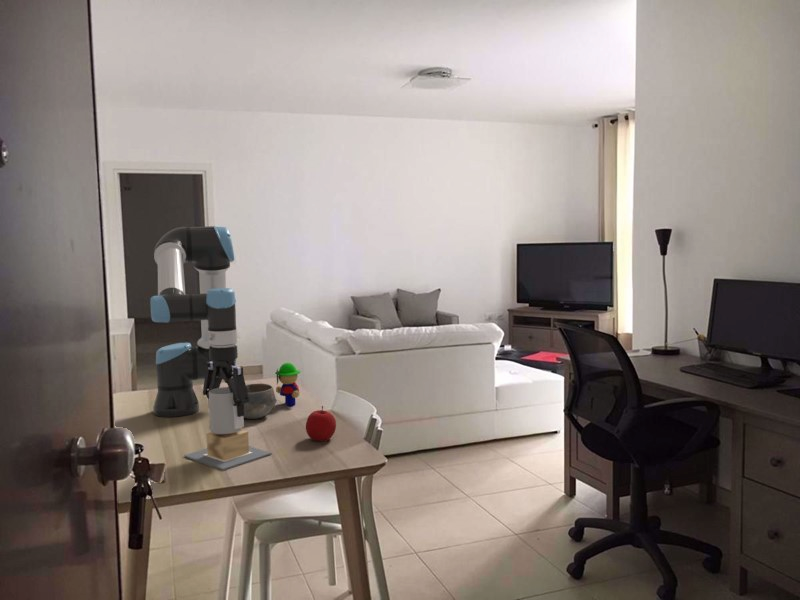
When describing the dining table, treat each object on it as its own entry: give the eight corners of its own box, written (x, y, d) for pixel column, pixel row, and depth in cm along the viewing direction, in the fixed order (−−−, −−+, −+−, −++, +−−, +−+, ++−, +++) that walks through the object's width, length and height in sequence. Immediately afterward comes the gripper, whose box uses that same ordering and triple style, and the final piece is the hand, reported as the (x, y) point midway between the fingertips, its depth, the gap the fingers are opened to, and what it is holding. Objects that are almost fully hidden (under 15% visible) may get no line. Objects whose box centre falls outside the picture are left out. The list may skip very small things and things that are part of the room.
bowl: (260, 408, 242) (259, 380, 241) (286, 416, 231) (285, 387, 230) (224, 417, 232) (223, 387, 231) (249, 425, 221) (248, 395, 220)
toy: (276, 400, 253) (275, 360, 251) (302, 399, 254) (301, 359, 252) (273, 408, 242) (272, 366, 240) (300, 407, 243) (299, 365, 241)
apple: (302, 437, 208) (301, 404, 207) (331, 433, 211) (330, 401, 210) (310, 446, 200) (309, 412, 198) (340, 441, 203) (339, 408, 202)
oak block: (207, 454, 192) (206, 433, 191) (231, 447, 198) (230, 426, 197) (224, 460, 186) (223, 438, 186) (248, 452, 193) (248, 431, 192)
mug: (244, 432, 188) (242, 392, 186) (211, 435, 185) (209, 395, 183) (238, 420, 199) (237, 383, 198) (208, 423, 196) (206, 385, 195)
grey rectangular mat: (184, 456, 192) (184, 454, 192) (232, 442, 204) (231, 440, 204) (223, 470, 180) (223, 468, 180) (271, 454, 192) (271, 452, 192)
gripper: (187, 343, 193) (190, 420, 196) (237, 351, 179) (241, 435, 181) (209, 339, 199) (213, 414, 201) (260, 347, 184) (263, 428, 187)
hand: (226, 424), depth 191 cm, fingers closed on mug, 10 cm apart
